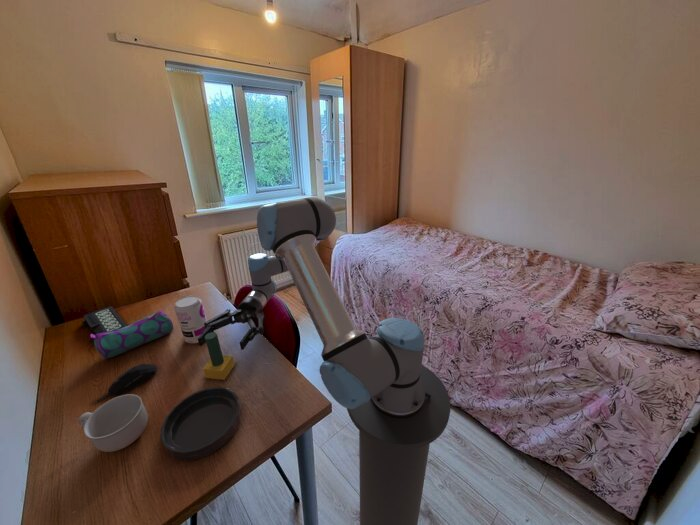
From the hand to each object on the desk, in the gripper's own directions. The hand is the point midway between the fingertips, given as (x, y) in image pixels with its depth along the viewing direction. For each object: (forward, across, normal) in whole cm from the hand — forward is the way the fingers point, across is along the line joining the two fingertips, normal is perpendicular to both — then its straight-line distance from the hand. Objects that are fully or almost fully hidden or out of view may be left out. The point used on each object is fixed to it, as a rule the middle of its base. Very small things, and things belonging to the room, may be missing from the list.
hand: (220, 344), depth 86 cm
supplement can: (-11, +17, -8) cm, 22 cm away
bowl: (+20, -6, -8) cm, 22 cm away
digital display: (-12, +56, -8) cm, 58 cm away
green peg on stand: (+3, 0, -8) cm, 8 cm away
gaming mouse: (+11, +24, -8) cm, 27 cm away
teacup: (+25, +13, -8) cm, 29 cm away
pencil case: (-5, +35, -8) cm, 36 cm away
